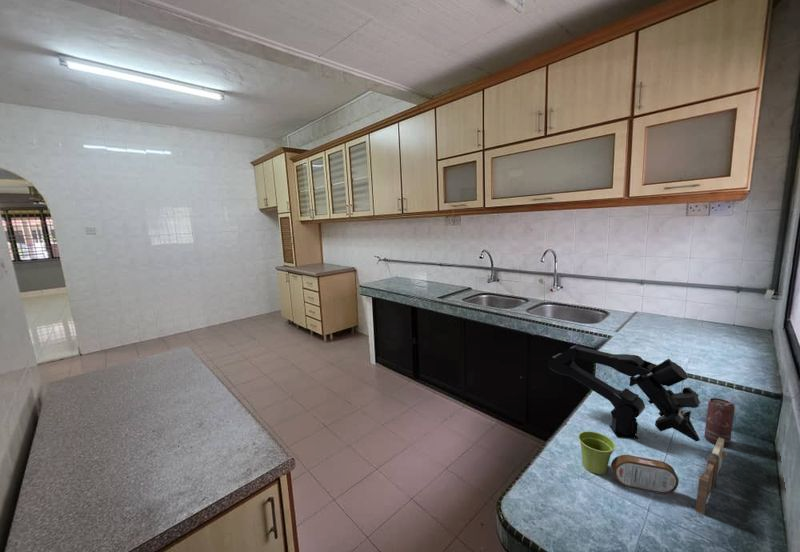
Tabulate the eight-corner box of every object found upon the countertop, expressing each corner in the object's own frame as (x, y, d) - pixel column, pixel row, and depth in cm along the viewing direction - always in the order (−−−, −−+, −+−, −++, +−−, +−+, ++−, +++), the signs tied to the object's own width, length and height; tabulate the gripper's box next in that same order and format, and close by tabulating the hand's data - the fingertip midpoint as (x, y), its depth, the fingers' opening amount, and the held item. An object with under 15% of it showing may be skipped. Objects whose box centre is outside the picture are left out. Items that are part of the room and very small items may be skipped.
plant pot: (620, 473, 95) (622, 445, 94) (598, 483, 91) (600, 454, 90) (590, 453, 103) (592, 428, 102) (569, 461, 100) (571, 435, 99)
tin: (673, 490, 88) (676, 461, 87) (679, 499, 86) (682, 469, 84) (609, 477, 93) (611, 450, 92) (612, 485, 90) (614, 457, 89)
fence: (703, 514, 81) (708, 482, 79) (695, 510, 82) (699, 478, 81) (713, 490, 88) (717, 459, 87) (705, 486, 89) (708, 456, 88)
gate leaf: (719, 490, 87) (723, 461, 86) (704, 484, 90) (708, 455, 89) (727, 468, 95) (730, 441, 94) (713, 463, 98) (716, 436, 97)
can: (735, 448, 104) (741, 407, 102) (712, 446, 106) (717, 406, 104) (721, 437, 110) (726, 398, 108) (699, 435, 111) (704, 396, 110)
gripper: (672, 391, 94) (721, 445, 87) (687, 373, 105) (732, 419, 98) (637, 405, 101) (680, 457, 94) (655, 387, 113) (694, 431, 105)
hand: (698, 440), depth 98 cm, fingers closed
